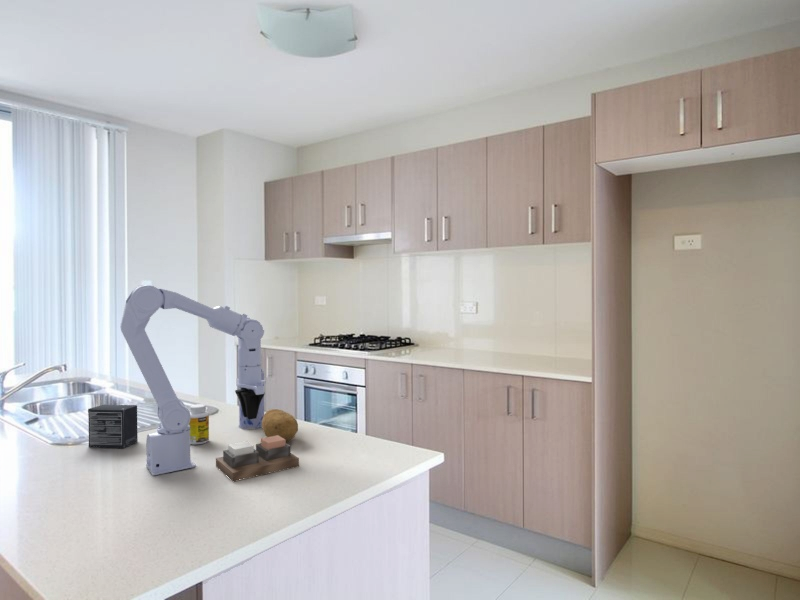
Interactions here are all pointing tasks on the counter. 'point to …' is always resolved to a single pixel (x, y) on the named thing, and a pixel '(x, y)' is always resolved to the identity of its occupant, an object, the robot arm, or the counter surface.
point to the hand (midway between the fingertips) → (250, 417)
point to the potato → (279, 424)
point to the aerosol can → (252, 423)
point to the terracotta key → (273, 442)
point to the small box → (112, 426)
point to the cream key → (240, 448)
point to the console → (256, 462)
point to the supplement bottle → (199, 424)
